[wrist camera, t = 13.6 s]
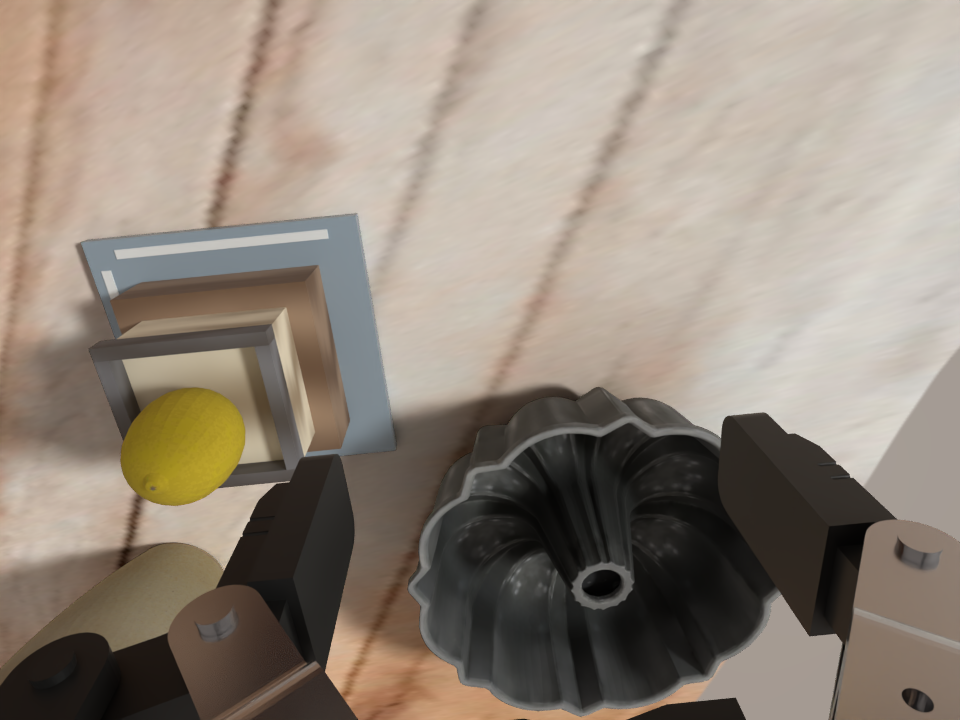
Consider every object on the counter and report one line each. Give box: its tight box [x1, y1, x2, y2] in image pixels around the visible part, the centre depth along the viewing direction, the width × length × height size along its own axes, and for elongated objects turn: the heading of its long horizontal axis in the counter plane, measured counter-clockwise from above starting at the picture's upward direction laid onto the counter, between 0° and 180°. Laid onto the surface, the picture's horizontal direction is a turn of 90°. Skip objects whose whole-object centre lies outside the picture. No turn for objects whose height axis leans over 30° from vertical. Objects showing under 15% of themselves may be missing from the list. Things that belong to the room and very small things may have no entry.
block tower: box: [89, 265, 350, 488], centre depth 38 cm, size 12×12×9 cm
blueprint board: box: [81, 213, 397, 457], centre depth 43 cm, size 18×18×1 cm
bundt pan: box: [408, 387, 781, 717], centre depth 45 cm, size 26×26×10 cm
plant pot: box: [0, 543, 224, 685], centre depth 44 cm, size 15×15×16 cm
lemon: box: [120, 387, 245, 506], centre depth 32 cm, size 6×6×8 cm
